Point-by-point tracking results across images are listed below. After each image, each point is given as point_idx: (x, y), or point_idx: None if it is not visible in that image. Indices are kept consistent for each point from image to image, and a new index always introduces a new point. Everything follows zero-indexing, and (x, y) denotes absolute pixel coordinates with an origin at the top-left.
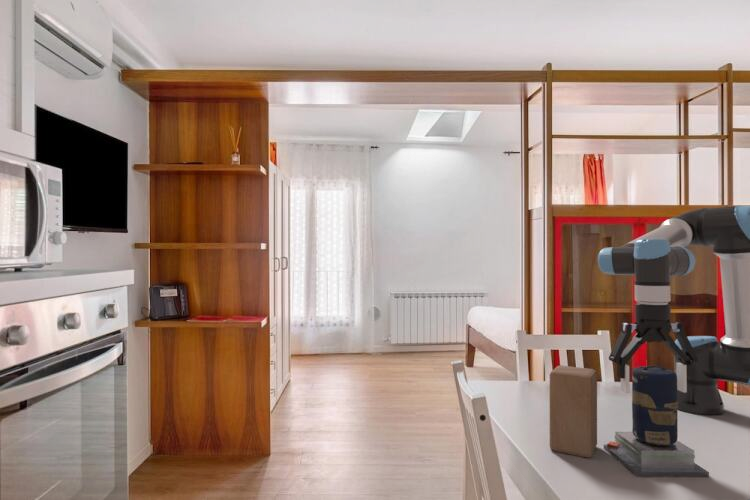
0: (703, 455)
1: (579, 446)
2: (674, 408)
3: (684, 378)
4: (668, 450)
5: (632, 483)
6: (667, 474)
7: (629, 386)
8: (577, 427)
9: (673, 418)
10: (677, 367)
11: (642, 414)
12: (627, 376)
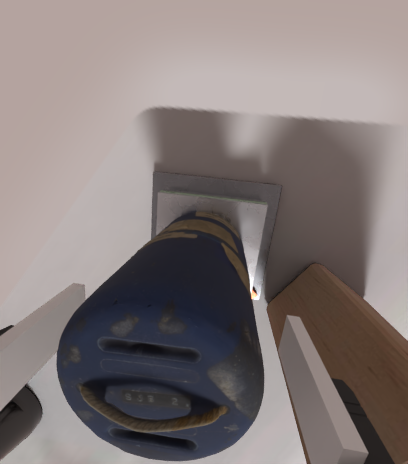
0: (109, 248)
1: (338, 279)
2: (160, 235)
3: (36, 318)
4: (209, 199)
5: (309, 160)
6: (226, 179)
7: (295, 334)
8: (362, 303)
9: (174, 225)
10: (7, 393)
11: (245, 259)
12: (323, 376)
